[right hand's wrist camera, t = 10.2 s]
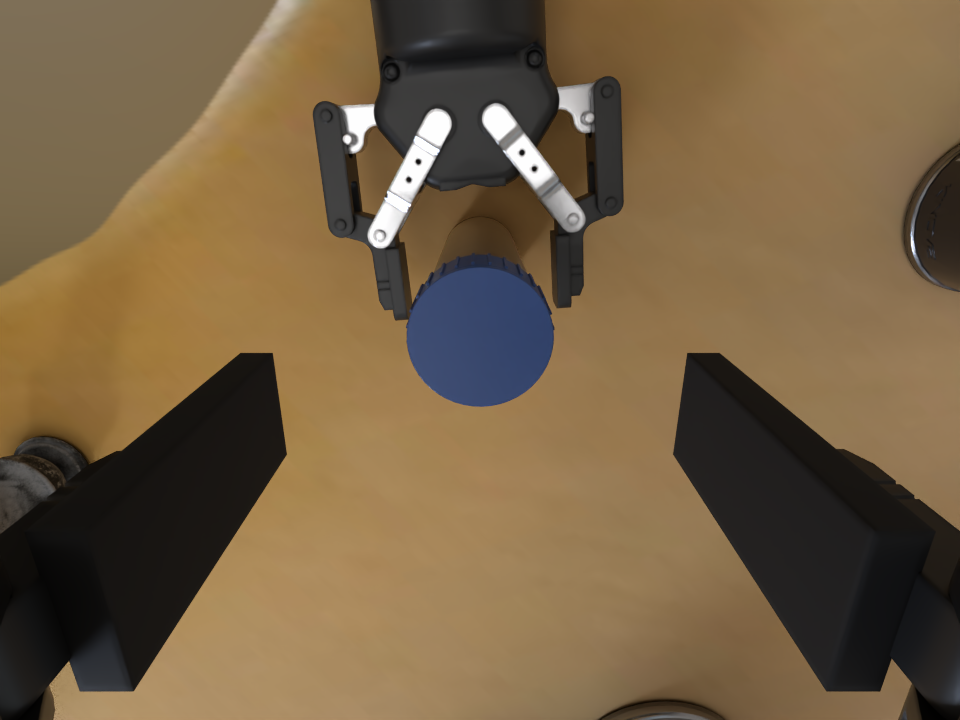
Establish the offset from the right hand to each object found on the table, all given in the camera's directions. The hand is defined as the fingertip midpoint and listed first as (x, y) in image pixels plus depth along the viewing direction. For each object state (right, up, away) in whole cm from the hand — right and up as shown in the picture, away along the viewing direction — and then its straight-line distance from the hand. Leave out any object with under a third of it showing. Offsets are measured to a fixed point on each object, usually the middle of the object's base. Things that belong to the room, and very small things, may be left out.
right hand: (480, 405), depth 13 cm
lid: (0, +2, +5) cm, 5 cm away
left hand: (0, +4, +16) cm, 16 cm away
